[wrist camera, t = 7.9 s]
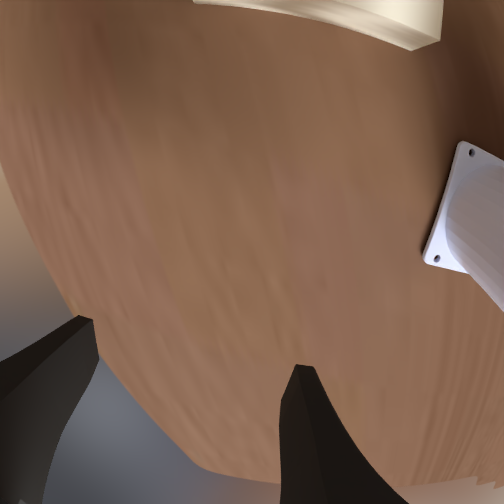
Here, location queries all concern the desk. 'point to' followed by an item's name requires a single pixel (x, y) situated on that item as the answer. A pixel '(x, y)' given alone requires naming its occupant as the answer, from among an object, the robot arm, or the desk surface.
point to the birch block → (363, 16)
